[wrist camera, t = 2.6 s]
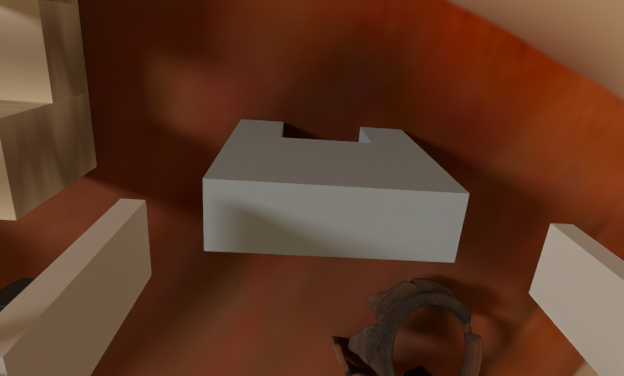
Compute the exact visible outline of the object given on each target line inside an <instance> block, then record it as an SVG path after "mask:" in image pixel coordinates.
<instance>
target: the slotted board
mask: <svg viewBox="0 0 624 376" xmlns="http://www.w3.org/2000/svg"><path fill="white" fill-rule="evenodd" d="M95 167H97V163H96V154H95V145H94V137H93V128H92V119H91V111H90V102H89V93H88V85H87V76H86V67H85V59H84V50H83V41H82V33H81V24H80V15H79V7H78V0H0V220H18V219H19V218H21V217H22V216H24V215H25V214H27V213H28V212H30V211H31V210H33V209H34V208H36V207H37V206H39V205H40V204H42V203H43V202H45V201H46V200H48V199H49V198H51V197H52V196H54V195H55V194H57V193H58V192H60V191H61V190H63V189H64V188H66V187H67V186H69V185H70V184H72V183H73V182H74V181H76V180H77V179H79V178H80V177H82V176H83V175H85V174H86V173H88V172H89V171H91V170H92V169H94V168H95Z"/></svg>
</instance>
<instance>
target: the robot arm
mask: <svg viewBox="0 0 624 376" xmlns="http://www.w3.org/2000/svg"><path fill="white" fill-rule="evenodd" d="M150 277H151V263H150V250H149V237H148V225H147V212H146V200H135V199H120V200H119V201H118V202H117V203H116V204H115V205H113V206H112V207H111V208H110V209H109V210H108V211H107V212H106V213H105V214H104V215H103V216H102V217H101V218H100V219H99V220H98V221H96V222H95V223H94V224H93V225H92V226H91V227H90V228H89V229H88V230H87V231H86V232H85V233H84V234H83V235H82V236H81V237H79V238H78V239H77V240H76V241H75V242H74V243H73V244H72V245H71V246H70V247H69V248H68V249H67V250H66V251H65V252H63V253H62V254H61V255H60V256H59V257H58V258H57V259H56V260H55V261H54V262H53V263H52V264H51V265H50V266H49V267H48V268H46V269H45V270H44V271H43V272H42V273H41V274H40V275H39V276H38V277H37V278H22V279H20V280H18V281H16V282H14V283H12V284H10V285H8V286H6V287H5V288H3V289H1V290H0V376H90V375H91V373H92V372H93V370H94V368H95V367H96V365H97V364H98V362H99V360H100V359H101V357H102V355H103V354H104V352H105V350H106V349H107V347H108V346H109V344H110V342H111V341H112V339H113V337H114V336H115V334H116V332H117V331H118V329H119V328H120V326H121V324H122V323H123V321H124V319H125V318H126V316H127V314H128V313H129V311H130V309H131V308H132V306H133V305H134V303H135V301H136V300H137V298H138V296H139V295H140V293H141V291H142V290H143V288H144V287H145V285H146V283H147V282H148V280H149V278H150ZM529 294H530V296H531V297H532V298H533V299H534V300H535V301H536V303H537V304H538V305H539V306H540V307H541V308H542V310H543V311H544V312H545V313H546V314H547V315H548V317H549V318H550V319H551V320H552V321H553V322H554V324H555V325H556V326H557V327H558V328H559V329H560V331H561V332H562V333H563V334H564V335H565V336H566V338H567V339H568V340H569V341H570V342H571V343H572V345H573V346H574V347H575V348H576V349H577V350H578V352H579V353H580V354H581V355H582V356H583V357H584V359H585V360H586V361H587V362H588V363H589V364H590V366H591V367H592V368H593V369H594V370H595V371H596V373H597V374H598V375H599V376H624V261H623V260H621V259H620V258H619V257H617V256H616V255H615V254H613V253H612V252H610V251H609V250H608V249H606V248H605V247H603V246H602V245H601V244H599V243H598V242H597V241H595V240H594V239H592V238H591V237H590V236H588V235H587V234H586V233H584V232H583V231H581V230H580V229H579V228H577V227H576V226H574V225H573V224H555V223H551V224H550V227H549V230H548V233H547V236H546V240H545V243H544V246H543V249H542V253H541V256H540V259H539V262H538V265H537V269H536V272H535V275H534V278H533V281H532V285H531V288H530V291H529Z"/></svg>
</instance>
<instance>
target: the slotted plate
mask: <svg viewBox="0 0 624 376" xmlns="http://www.w3.org/2000/svg"><path fill="white" fill-rule="evenodd" d="M283 123H284V122H276V121H260V120H245V119H241V120H240V122H239V123H238V125H237V126H236V128H235V130H234V131H233V133H232V134H231V136H230V137H229V139H228V140H227V142H226V143H225V145H224V146H223V148H222V149H221V151H220V153H219V154H218V156H217V157H216V159H215V160H214V162H213V163H212V165H211V166H210V168H209V169H208V171H207V173H206V174H205V176H204V177H203V219H204V251H219V252H240V253H261V254H282V255H303V256H325V257H346V258H367V259H388V260H409V261H430V262H451V263H454V262H455V258H456V253H457V249H458V244H459V240H460V235H461V231H462V226H463V221H464V217H465V212H466V208H467V203H468V199H469V193H468V192H467V191H466V190H465V189H464V188H463V187H462V186H461V185H460V184H459V183H458V182H457V181H456V180H455V179H453V178H452V177H451V176H450V175H449V174H448V173H447V172H446V171H445V170H444V169H443V168H442V167H441V166H440V165H439V164H437V163H436V162H435V161H434V160H433V159H432V158H431V157H430V156H429V155H428V154H427V153H426V152H425V151H424V150H423V149H421V148H420V147H419V146H418V145H417V144H416V143H415V142H414V141H413V140H412V139H411V138H410V137H409V136H408V135H407V134H405V133H404V132H403V131H402V130H398V129H383V128H368V127H360V135H359V142H346V141H330V140H314V139H298V138H283Z"/></svg>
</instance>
